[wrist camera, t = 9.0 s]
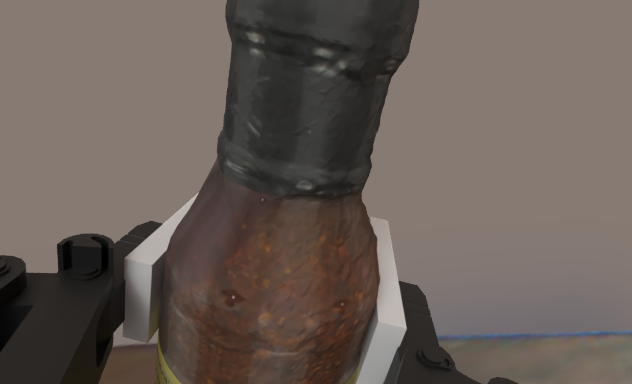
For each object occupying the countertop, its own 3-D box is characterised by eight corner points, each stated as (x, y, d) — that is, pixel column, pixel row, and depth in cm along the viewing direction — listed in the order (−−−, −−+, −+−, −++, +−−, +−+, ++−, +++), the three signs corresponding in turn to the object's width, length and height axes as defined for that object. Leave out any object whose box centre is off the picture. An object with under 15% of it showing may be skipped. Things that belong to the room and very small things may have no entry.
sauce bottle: (271, 419, 19) (379, 13, 12) (328, 563, 14) (565, 27, 7) (134, 464, 16) (169, -57, 9) (146, 670, 11) (248, -116, 4)
